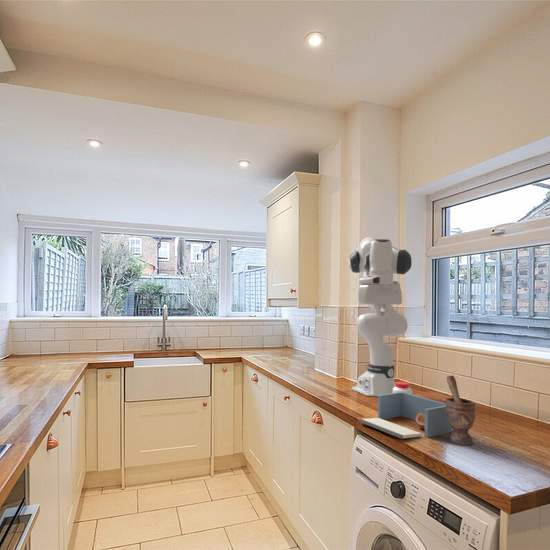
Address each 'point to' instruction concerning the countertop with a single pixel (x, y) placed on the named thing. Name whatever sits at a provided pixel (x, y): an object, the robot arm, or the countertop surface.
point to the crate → (415, 411)
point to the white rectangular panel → (390, 428)
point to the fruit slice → (420, 420)
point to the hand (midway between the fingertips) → (380, 316)
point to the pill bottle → (402, 387)
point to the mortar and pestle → (459, 415)
